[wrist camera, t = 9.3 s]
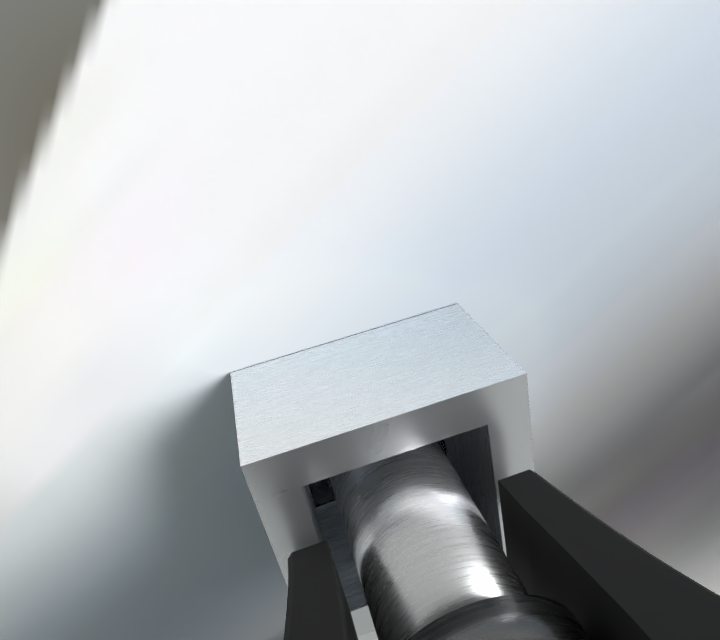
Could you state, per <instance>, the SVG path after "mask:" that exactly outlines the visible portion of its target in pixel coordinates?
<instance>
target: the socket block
mask: <svg viewBox="0 0 720 640" xmlns="http://www.w3.org/2000/svg"><path fill="white" fill-rule="evenodd" d="M230 375H231V384H232V393H233V402H234V412H235V421H236V430H237V439H238V449H239V458H240V467H241V469H242V472H243V474H244V477H245V480H246V482H247V485H248V487H249V490H250V492H251V495H252V497H253V500H254V503H255V505H256V508H257V510H258V513H259V515H260V518H261V521H262V523H263V526H264V528H265V531H266V533H267V536H268V538H269V541H270V544H271V546H272V549H273V551H274V554H275V556H276V559H277V562H278V564H279V567H280V569H281V572H282V574H283V577H284V579H285V582H286V585H287V587H288V558H289V556H290V555H291V553H292V552H294V551H297V550H300V549H303V548H305V547H308V546H311V545H314V544H317V543H320V542H323V541H326V540H327V542H328V545H329V548H330V551H331V554H332V557H333V560H334V563H335V566H336V569H337V572H338V575H339V579H340V582H341V585H342V588H343V591H344V594H345V597H346V600H347V603H348V606H349V609H350V613H351V616H352V619H353V623H354V626H355V630H356V633H357V637H360V636H362V635H365V634H368V633H370V632H373V631H375V627H374V624H373V621H372V618H371V614H370V611H369V608H368V604H367V601H366V598H365V594H364V591H363V588H362V585H361V581H360V578H359V575H358V571H357V568H356V565H355V562H354V558H353V555H352V552H351V548H350V545H349V542H348V538H347V535H346V532H345V529H344V525H343V522H342V519H341V515H340V512H339V509H338V506H337V502H336V500H335V501H332V502H329V503H326V504H324V505H321V506H318V507H316V506H315V503H314V500H313V497H312V494H311V491H310V488H309V485H308V484H311V483H314V482H317V481H320V480H323V479H326V478H329V477H332V476H335V475H338V474H341V473H344V472H347V471H350V470H353V469H356V468H359V467H362V466H365V465H368V464H371V463H374V462H377V461H380V460H383V459H386V458H389V457H392V456H395V455H398V454H401V453H404V452H407V451H410V450H413V449H416V448H419V447H422V446H425V445H428V444H431V443H434V442H437V441H440V440H443V439H445V445H446V451H447V457H448V459H449V461H450V463H451V464H452V466H453V468H454V469H455V471H456V473H457V474H458V476H459V478H460V479H461V481H462V483H463V485H464V486H465V488H466V490H467V491H468V493H469V495H470V496H471V498H472V500H473V501H474V503H475V505H476V506H477V508H478V510H479V511H480V513H481V515H482V516H483V518H484V520H485V521H486V523H487V525H488V526H489V528H490V530H491V531H492V533H493V535H494V536H495V538H496V540H497V541H498V543H499V545H500V546H501V548H502V550H503V551H504V553H505V555H506V556H507V553H506V545H505V537H504V528H503V520H502V512H501V503H500V495H499V486H498V480H500V479H503V478H506V477H509V476H512V475H515V474H518V473H520V472H523V471H526V470H529V469H530V470H532V471H534V459H533V447H532V434H531V421H530V409H529V396H528V384H527V373H526V372H525V371H524V370H523V369H522V368H521V367H520V366H519V365H518V364H517V363H516V362H515V361H514V360H513V359H512V358H511V357H510V356H509V355H508V354H507V353H506V352H505V351H504V350H503V349H502V348H501V347H500V346H499V345H498V344H497V343H496V341H495V340H494V339H493V338H492V337H491V336H490V335H489V334H488V333H487V332H486V331H485V330H484V329H483V328H482V327H481V326H480V325H479V324H478V323H477V322H476V321H475V320H474V319H473V318H472V317H471V316H470V315H469V314H468V313H467V312H466V311H465V310H464V309H463V308H462V307H461V306H460V305H459V304H455V305H452V306H448V307H445V308H442V309H439V310H435V311H432V312H429V313H425V314H422V315H419V316H416V317H412V318H409V319H406V320H402V321H399V322H396V323H393V324H389V325H386V326H383V327H379V328H376V329H373V330H370V331H366V332H363V333H360V334H356V335H353V336H350V337H347V338H343V339H340V340H337V341H333V342H330V343H327V344H324V345H320V346H317V347H314V348H311V349H307V350H304V351H301V352H297V353H294V354H291V355H288V356H284V357H281V358H278V359H274V360H271V361H268V362H265V363H261V364H258V365H255V366H251V367H248V368H245V369H242V370H238V371H235V372H232V373H230Z"/></svg>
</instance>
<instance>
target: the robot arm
mask: <svg viewBox="0 0 720 640" xmlns="http://www.w3.org/2000/svg"><path fill="white" fill-rule="evenodd" d="M498 486H499V495H500V503H501V512H502V520H503V528H504V537H505V545H506V553H507V558H508V560H509V561H510V563H511V565H512V567H513V568H514V570H515V572H516V573H517V575H518V577H519V578H520V580H521V582H522V583H523V585H524V587H525V588H526V590H527V592H528V593H529V595H538V596H543V597H547V598H550V599H553V600H555V601H558V602H560V603H561V604H563V605H564V606H566V607H567V608H568V609H569V610H570V611H571V612H572V613H573V614H574V615H575V617H576V618H577V620H578V621H579V623H580V625H581V626H582V628H583V629H584V631H585V632H586V634H587V635H588V637H589V638H590V640H720V596H719V595H717V594H716V593H714V592H712V591H710V590H709V589H707V588H705V587H704V586H702V585H700V584H699V583H697V582H695V581H694V580H692V579H690V578H689V577H687V576H685V575H684V574H682V573H680V572H679V571H677V570H675V569H674V568H672V567H670V566H669V565H667V564H666V563H664V562H663V561H661V560H659V559H658V558H656V557H655V556H653V555H652V554H650V553H648V552H647V551H645V550H644V549H642V548H641V547H639V546H638V545H636V544H635V543H633V542H632V541H630V540H629V539H627V538H626V537H624V536H623V535H621V534H620V533H618V532H617V531H615V530H614V529H612V528H611V527H610V526H608V525H607V524H605V523H604V522H602V521H601V520H599V519H598V518H597V517H595V516H594V515H592V514H591V513H590V512H588V511H587V510H585V509H584V508H583V507H581V506H580V505H578V504H577V503H576V502H574V501H573V500H572V499H570V498H569V497H567V496H566V495H565V494H563V493H562V492H561V491H559V490H558V489H557V488H555V487H554V486H553V485H551V484H550V483H549V482H547V481H546V480H545V479H543V478H542V477H541V476H539V475H538V474H537V473H536V472H534V471H532V470H530V469H529V470H526V471H523V472H520V473H518V474H515V475H512V476H509V477H506V478H503V479H500V480H498ZM284 640H358V637H357V633H356V630H355V626H354V623H353V619H352V616H351V613H350V609H349V606H348V603H347V600H346V597H345V594H344V591H343V588H342V585H341V582H340V579H339V575H338V572H337V569H336V566H335V563H334V560H333V557H332V554H331V551H330V548H329V545H328V542H327V540H326V541H323V542H320V543H317V544H314V545H311V546H308V547H305V548H303V549H300V550H297V551H294V552H292V553H291V555H290V556H289V558H288V599H287V613H286V623H285V634H284Z"/></svg>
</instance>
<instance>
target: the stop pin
mask: <svg viewBox="0 0 720 640" xmlns="http://www.w3.org/2000/svg"><path fill="white" fill-rule="evenodd" d="M329 479H330V482H331V486H332V489H333V492H334V496H335V499H336V502H337V506H338V509H339V512H340V515H341V519H342V522H343V525H344V529H345V532H346V535H347V538H348V542H349V545H350V548H351V552H352V555H353V558H354V562H355V565H356V568H357V571H358V575H359V578H360V581H361V585H362V588H363V591H364V594H365V598H366V601H367V604H368V608H369V611H370V614H371V618H372V621H373V624H374V627H375V631H376V634H377V637H378V640H590V638H589V637H588V635H587V634H586V632H585V631H584V629H583V628H582V626H581V625H580V623H579V621H578V620H577V618H576V617H575V615H574V614H573V613H572V612H571V611H570V610H569V609H568V608H567V607H566V606H564V605H563V604H561V603H560V602H558V601H555V600H553V599H550V598H547V597H543V596H538V595H529V593H528V592H527V590H526V588H525V587H524V585H523V583H522V582H521V580H520V578H519V577H518V575H517V573H516V572H515V570H514V568H513V567H512V565H511V563H510V561H509V560H508V558H507V556H506V555H505V553H504V551H503V550H502V548H501V546H500V545H499V543H498V541H497V540H496V538H495V536H494V535H493V533H492V531H491V530H490V528H489V526H488V525H487V523H486V521H485V520H484V518H483V516H482V515H481V513H480V511H479V510H478V508H477V506H476V505H475V503H474V501H473V500H472V498H471V496H470V495H469V493H468V491H467V490H466V488H465V486H464V485H463V483H462V481H461V479H460V478H459V476H458V474H457V473H456V471H455V469H454V468H453V466H452V464H451V463H450V461H449V459H448V458H447V456H446V454H445V453H444V451H443V449H442V448H441V446H440V444H439V443H438V441H437V442H434V443H431V444H428V445H425V446H422V447H419V448H416V449H413V450H410V451H407V452H404V453H401V454H398V455H395V456H392V457H389V458H386V459H383V460H380V461H377V462H374V463H371V464H368V465H365V466H362V467H359V468H356V469H353V470H350V471H347V472H344V473H341V474H338V475H335V476H332V477H329Z"/></svg>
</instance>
